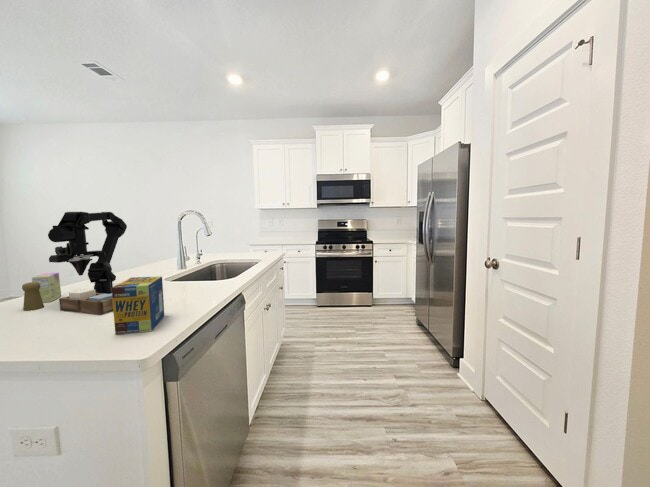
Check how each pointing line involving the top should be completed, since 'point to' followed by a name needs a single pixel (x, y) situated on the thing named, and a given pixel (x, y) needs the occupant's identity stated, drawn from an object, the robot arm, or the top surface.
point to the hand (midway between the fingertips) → (80, 275)
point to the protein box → (138, 304)
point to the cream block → (82, 294)
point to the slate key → (101, 297)
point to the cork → (32, 296)
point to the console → (86, 305)
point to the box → (48, 286)
